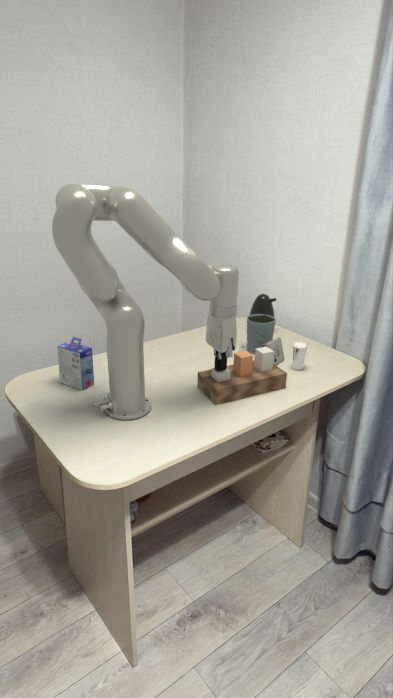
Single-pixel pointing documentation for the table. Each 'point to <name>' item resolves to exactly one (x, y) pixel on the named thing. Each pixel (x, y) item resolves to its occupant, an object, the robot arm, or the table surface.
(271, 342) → the electrical switch
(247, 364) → the terracotta peg
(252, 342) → the teal plant pot
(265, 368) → the grey peg right
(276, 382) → the socket board
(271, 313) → the pump dispenser
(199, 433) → the table surface
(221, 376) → the grey peg left
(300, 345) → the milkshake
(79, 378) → the ink cartridge box
